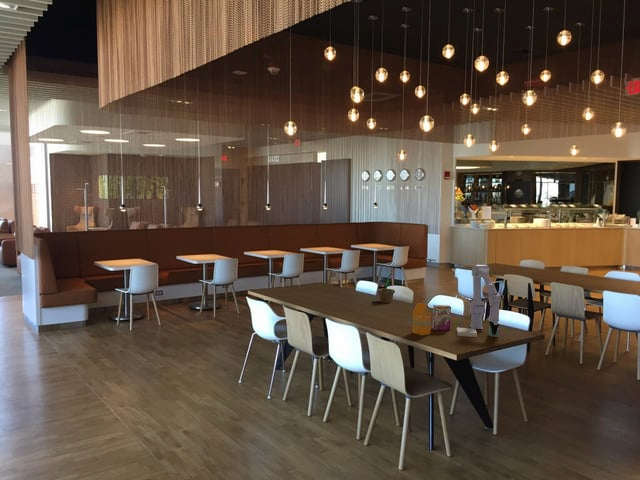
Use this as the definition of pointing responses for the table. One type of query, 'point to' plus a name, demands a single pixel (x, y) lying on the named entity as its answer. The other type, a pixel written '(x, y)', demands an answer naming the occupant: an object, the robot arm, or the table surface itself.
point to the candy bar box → (441, 317)
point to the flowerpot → (386, 292)
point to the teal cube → (491, 332)
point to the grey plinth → (466, 332)
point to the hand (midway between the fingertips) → (493, 333)
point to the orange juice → (421, 319)
